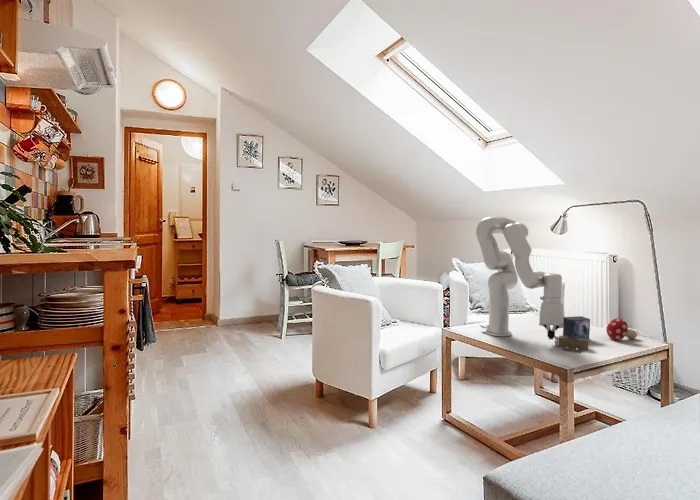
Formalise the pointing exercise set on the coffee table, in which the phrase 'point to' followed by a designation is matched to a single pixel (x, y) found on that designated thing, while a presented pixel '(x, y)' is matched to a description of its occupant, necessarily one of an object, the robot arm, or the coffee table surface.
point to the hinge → (573, 343)
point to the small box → (576, 327)
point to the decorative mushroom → (619, 330)
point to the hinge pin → (556, 340)
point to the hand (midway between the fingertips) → (551, 338)
